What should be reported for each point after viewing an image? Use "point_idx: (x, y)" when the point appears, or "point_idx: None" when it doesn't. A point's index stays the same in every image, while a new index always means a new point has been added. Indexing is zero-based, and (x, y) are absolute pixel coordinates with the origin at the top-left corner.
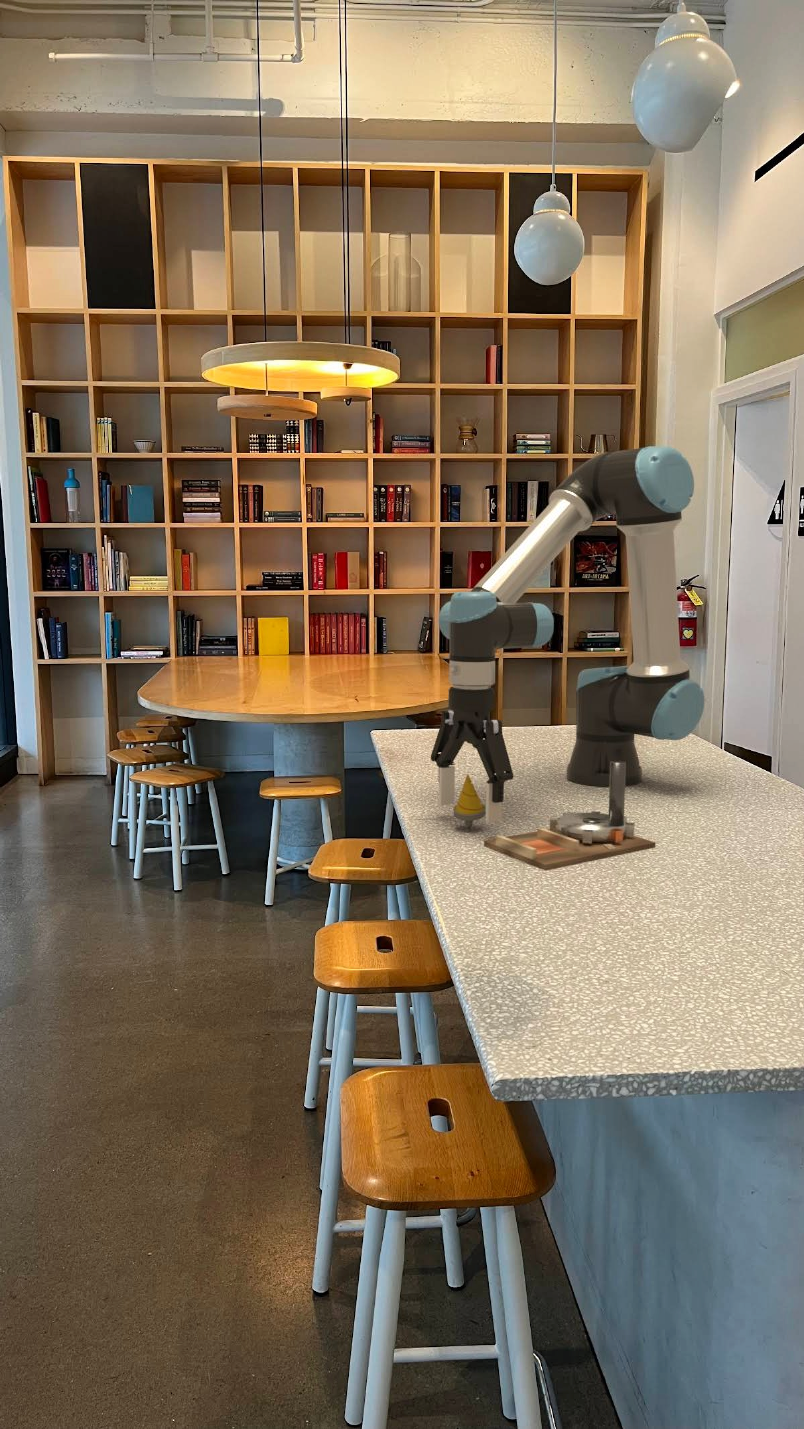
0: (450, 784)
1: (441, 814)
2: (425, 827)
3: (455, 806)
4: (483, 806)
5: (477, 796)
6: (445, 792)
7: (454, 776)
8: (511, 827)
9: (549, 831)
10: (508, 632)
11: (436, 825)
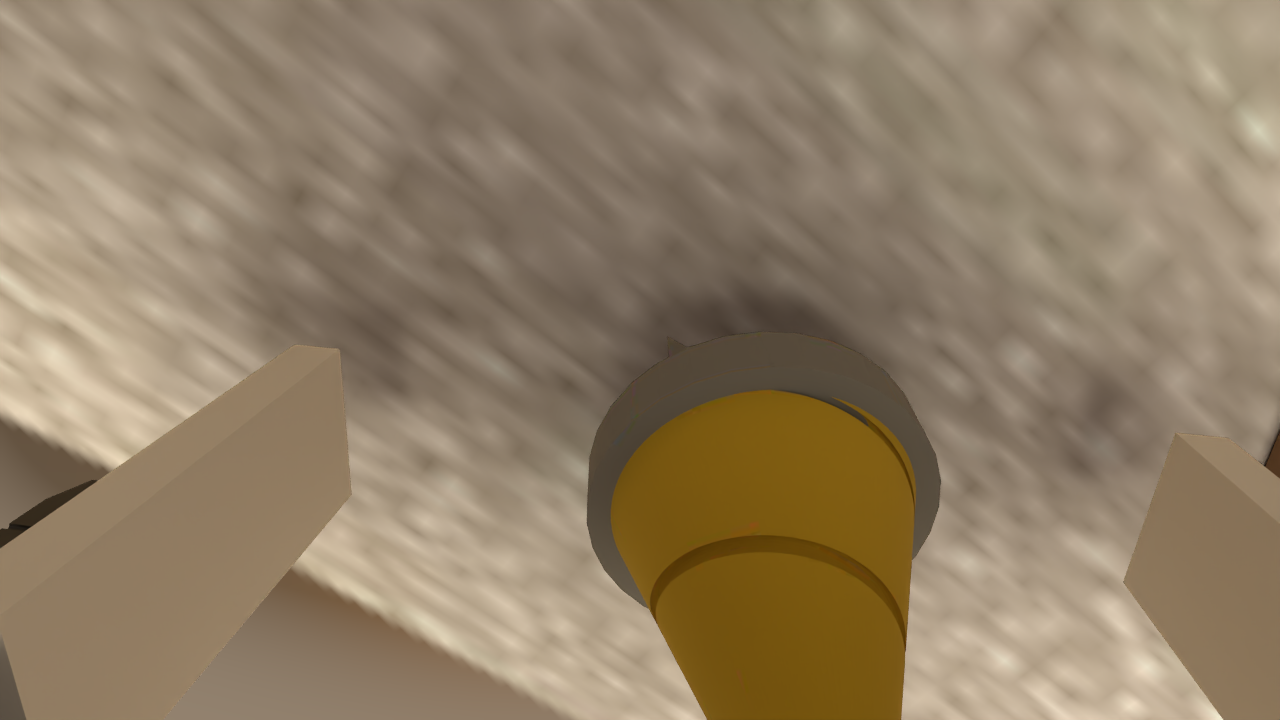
0: (217, 513)
1: (183, 256)
2: (486, 591)
3: (619, 575)
4: (847, 394)
5: (892, 589)
6: (278, 523)
7: (134, 518)
8: (951, 23)
9: None
10: None
11: (480, 504)
